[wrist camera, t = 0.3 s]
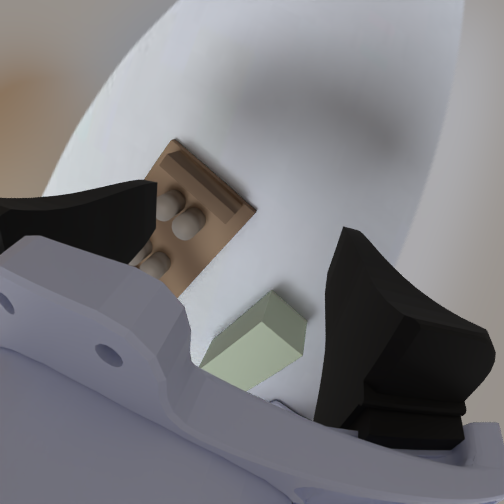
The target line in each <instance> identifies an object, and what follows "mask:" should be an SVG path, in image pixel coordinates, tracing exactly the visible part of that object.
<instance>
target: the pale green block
mask: <svg viewBox="0 0 504 504" xmlns="http://www.w3.org/2000/svg"><path fill="white" fill-rule="evenodd" d="M306 326H307V321H306V320H305V319H304V318H303V317H302V316H301V315H300V314H298V313H297V312H296V311H295V310H294V309H293V308H292V307H291V306H289V305H288V304H287V303H286V302H285V301H284V300H283V299H282V298H280V297H279V296H278V295H277V294H276V293H275V292H274V291H272V290H271V291H270V292H269V293H267V294H266V295H265V296H264V297H263V298H262V299H261V300H259V301H258V302H257V303H256V304H255V305H254V306H252V307H251V308H250V309H249V310H248V311H247V312H245V313H244V314H243V315H242V316H241V317H239V318H238V319H237V320H236V321H235V322H234V323H232V324H231V325H230V326H229V327H228V328H226V329H225V330H224V331H223V332H222V333H220V334H219V335H218V336H217V337H216V338H214V339H213V340H212V342H211V344H210V346H209V348H208V350H207V352H206V354H205V356H204V358H203V360H202V362H201V364H200V366H199V368H201V369H203V370H205V371H207V372H209V373H211V374H212V375H214V376H216V377H218V378H220V379H222V380H224V381H226V382H228V383H230V384H232V385H234V386H236V387H238V388H240V389H242V390H244V391H248V390H249V389H251V388H253V387H254V386H256V385H258V384H259V383H261V382H263V381H264V380H266V379H268V378H269V377H271V376H272V375H274V374H276V373H277V372H279V371H280V370H282V369H283V368H285V367H286V366H288V365H290V364H291V363H293V362H294V361H296V360H297V359H299V358H300V357H302V356H303V350H304V342H305V334H306Z"/></svg>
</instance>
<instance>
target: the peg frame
mask: <svg viewBox="0 0 504 504" xmlns="http://www.w3.org/2000/svg"><path fill="white" fill-rule="evenodd" d="M144 180H148V181H153V182H158V184H157V209H156V229H155V231H154V232H153V234H152V236H151V237H150V239H149V240H148V242H147V243H146V245H145V246H144V247H143V248H142V250H141V251H140V252H139V253H138V254H137V255H136V256H135V257H134V259H133V260H132V261H131V262H130V263H129V264H128V265H130V266H133V267H136V268H138V269H140V270H141V271H143V272H145V273H147V274H149V275H151V276H152V277H154V278H156V279H158V280H160V281H162V282H163V283H164V284H165V285H166V286H167V287H168V288H169V290H170V291H171V292H172V293H173V294H174V295H175V297H176V298H178V297H179V296H180V295H181V294H182V292H183V291H184V290H185V289H186V288H187V287H188V286H189V285H190V284H191V282H192V281H193V280H194V279H195V278H196V277H197V276H198V275H199V274H200V272H201V271H202V270H203V269H204V268H205V267H206V266H207V265H208V264H209V263H210V262H211V260H212V259H213V258H214V257H215V256H216V255H217V254H218V253H219V252H220V251H221V250H222V248H223V247H224V246H225V245H226V244H227V243H228V242H229V241H230V240H231V239H232V238H233V236H234V235H235V234H236V233H237V232H238V231H239V230H240V229H241V228H242V227H243V226H244V225H245V224H246V222H247V221H248V220H249V219H250V218H251V217H252V216H253V215H254V214H255V213H256V210H255V209H254V208H253V207H252V206H250V205H249V204H248V203H247V202H246V201H245V200H244V199H243V198H242V197H240V196H239V195H238V194H237V193H236V192H235V191H234V190H233V189H231V188H230V187H229V186H228V185H227V184H226V183H225V182H224V181H222V180H221V179H220V178H219V177H218V176H217V175H216V174H214V173H213V172H212V171H211V170H210V169H209V168H208V167H206V166H205V165H204V164H203V163H202V162H201V161H200V160H198V159H197V158H196V157H195V156H194V155H193V154H191V153H190V152H189V151H188V150H187V149H186V148H184V147H183V146H182V145H181V144H180V143H179V142H177V141H176V140H175V139H174V140H171V141H170V142H169V144H168V145H167V147H166V148H165V150H164V151H163V152H162V154H161V155H160V157H159V158H158V160H157V161H156V163H155V164H154V166H153V167H152V168H151V170H150V171H149V173H148V174H147V176H146V177H145V179H144Z"/></svg>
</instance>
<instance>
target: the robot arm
mask: <svg viewBox="0 0 504 504" xmlns="http://www.w3.org/2000/svg"><path fill="white" fill-rule="evenodd" d="M157 184H158V182H153V181H148V180H133V181H128V182H123V183H118V184H114V185H109V186H105V187H101V188H96V189H91V190H87V191H82V192H77V193H71V194H65V195H58V196H49V197H37V198H0V504H497V503H499V502H500V501H502V500H504V444H503V439H502V435H501V430H500V426H499V423H497V422H473V423H469V424H466V425H464V426H463V425H462V420H461V416H463V415H464V414H465V413H466V406H465V400H466V399H467V398H468V397H469V396H470V395H471V394H472V393H473V391H475V390H476V388H477V387H478V386H479V385H480V384H481V383H482V382H483V381H484V379H485V378H486V377H487V375H488V374H489V373H490V371H491V369H492V367H493V364H494V362H495V353H496V352H495V350H494V347H493V344H492V341H491V339H490V337H489V334H488V332H487V330H486V329H484V328H482V327H480V326H477V325H476V324H473V323H471V322H469V321H467V320H465V319H463V318H461V317H459V316H458V315H456V314H454V313H452V312H451V311H449V310H447V309H445V308H444V307H442V306H441V305H439V304H438V303H436V302H435V301H433V300H432V299H430V298H429V297H428V296H426V295H425V294H424V293H422V292H421V291H420V290H418V289H417V288H415V287H414V286H413V285H412V284H411V283H410V282H409V281H407V280H406V279H405V278H404V277H403V276H402V275H401V274H400V273H399V272H398V271H397V270H396V269H395V268H394V267H393V266H392V265H391V264H390V263H389V262H388V261H387V260H386V259H385V258H384V257H383V256H382V255H381V254H380V252H379V251H378V250H377V249H376V248H375V247H374V246H373V244H372V243H371V242H370V241H369V240H368V239H367V238H366V237H365V236H364V235H363V234H362V233H361V232H360V231H358V230H354V229H351V228H347V227H344V226H343V229H342V232H341V235H340V238H339V241H338V244H337V247H336V250H335V253H334V256H333V258H332V261H331V264H330V267H329V270H328V273H327V281H326V290H325V326H326V343H325V355H324V363H323V370H322V377H321V383H320V389H319V395H318V400H317V405H316V410H315V415H314V420H313V421H311V420H309V419H306V418H304V417H302V416H299V415H298V414H296V413H295V412H293V411H292V410H290V409H289V408H287V407H286V406H284V405H283V404H281V403H280V402H278V401H273V402H271V403H270V402H267V401H265V400H263V399H261V398H259V397H257V396H254V395H252V394H250V393H248V392H246V391H244V390H242V389H240V388H238V387H236V386H234V385H232V384H230V383H228V382H226V381H224V380H222V379H220V378H218V377H216V376H214V375H212V374H211V373H209V372H207V371H205V370H203V369H201V368H199V367H198V366H196V365H195V364H193V362H192V361H191V355H190V341H191V329H190V325H189V321H188V318H187V314H186V311H185V307H184V306H183V305H182V303H181V302H180V301H179V300H178V299H177V298H176V297H175V295H174V294H173V293H172V292H171V291H170V290H169V288H168V287H167V286H166V285H165V284H164V283H163V282H162V281H160V280H158V279H156V278H154V277H152V276H151V275H149V274H147V273H145V272H143V271H141V270H140V269H138V268H136V267H133V266H130V265H128V264H129V263H130V262H131V261H132V260H133V259H134V257H135V256H136V255H137V254H138V253H139V252H140V251H141V250H142V248H143V247H144V246H145V245H146V243H147V242H148V240H149V239H150V237H151V236H152V234H153V232H154V231H155V229H156V209H157Z"/></svg>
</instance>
